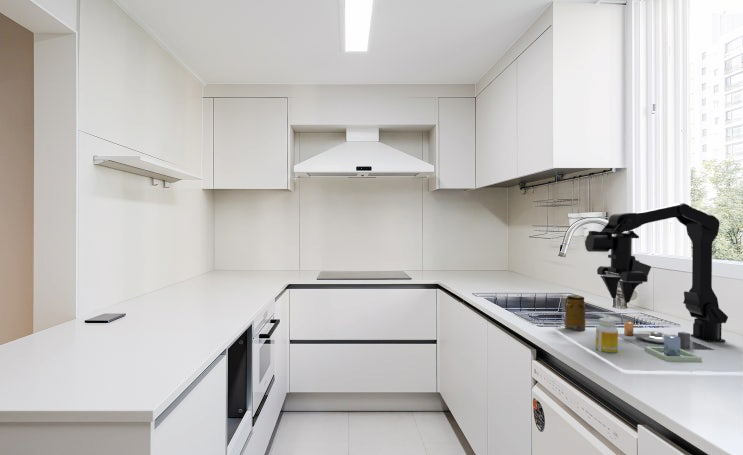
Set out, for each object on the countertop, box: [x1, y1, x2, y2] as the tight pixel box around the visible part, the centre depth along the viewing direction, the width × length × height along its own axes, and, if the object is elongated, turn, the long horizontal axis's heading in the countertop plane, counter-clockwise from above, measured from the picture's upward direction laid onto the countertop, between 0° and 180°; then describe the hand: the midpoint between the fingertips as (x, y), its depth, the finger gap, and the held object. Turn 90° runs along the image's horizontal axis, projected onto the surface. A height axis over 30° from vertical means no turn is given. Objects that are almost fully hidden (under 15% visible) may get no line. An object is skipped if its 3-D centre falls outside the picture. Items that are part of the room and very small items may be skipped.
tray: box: [644, 347, 703, 363], centre depth 112 cm, size 9×9×2 cm
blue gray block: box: [663, 334, 681, 356], centre depth 112 cm, size 4×4×6 cm
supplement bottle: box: [595, 317, 619, 354], centre depth 116 cm, size 5×5×10 cm
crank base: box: [618, 331, 715, 351], centre depth 126 cm, size 20×16×5 cm
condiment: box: [564, 294, 586, 332], centre depth 139 cm, size 7×8×12 cm
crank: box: [623, 321, 670, 343], centre depth 128 cm, size 15×11×5 cm
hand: (620, 300), depth 132 cm, fingers open, 7 cm apart
